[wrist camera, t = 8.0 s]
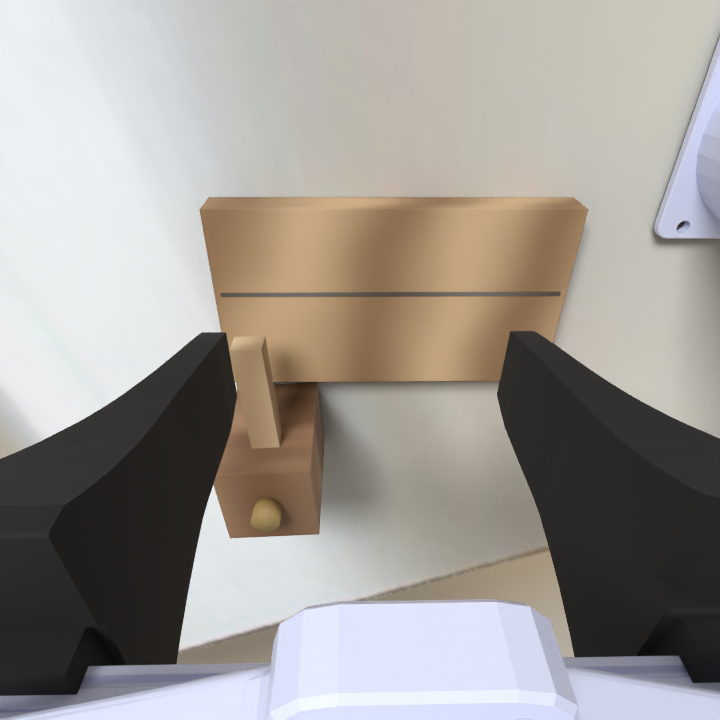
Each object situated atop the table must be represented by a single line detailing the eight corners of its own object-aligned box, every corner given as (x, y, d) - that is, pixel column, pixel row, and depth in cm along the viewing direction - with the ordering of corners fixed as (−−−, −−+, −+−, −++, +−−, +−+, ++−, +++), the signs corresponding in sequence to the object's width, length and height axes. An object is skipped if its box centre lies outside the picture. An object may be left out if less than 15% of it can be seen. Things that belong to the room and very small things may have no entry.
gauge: (307, 292, 22) (293, 385, 16) (324, 440, 27) (318, 550, 22) (217, 297, 22) (173, 391, 17) (251, 443, 27) (226, 553, 22)
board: (573, 197, 20) (588, 209, 19) (532, 361, 24) (543, 380, 23) (208, 197, 20) (199, 209, 18) (236, 363, 24) (229, 383, 23)
